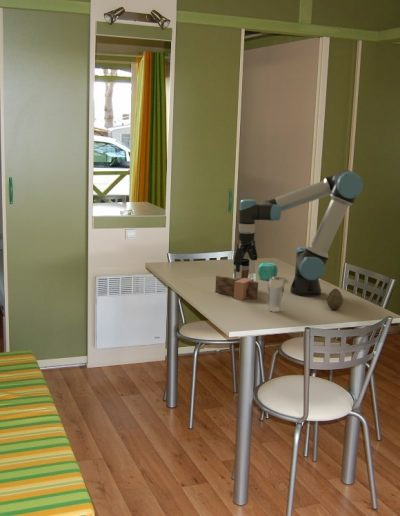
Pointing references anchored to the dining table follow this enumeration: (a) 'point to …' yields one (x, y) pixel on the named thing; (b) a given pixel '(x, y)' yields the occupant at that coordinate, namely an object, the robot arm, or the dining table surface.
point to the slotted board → (227, 286)
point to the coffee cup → (243, 269)
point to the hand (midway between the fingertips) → (245, 275)
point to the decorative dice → (267, 271)
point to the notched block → (241, 288)
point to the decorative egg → (334, 299)
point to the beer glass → (275, 293)
